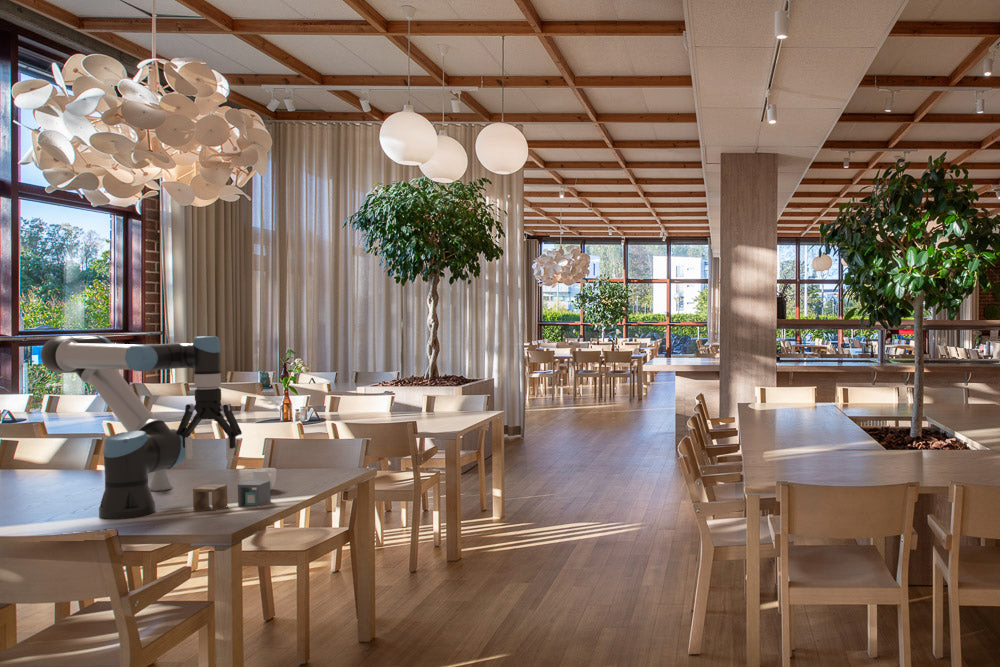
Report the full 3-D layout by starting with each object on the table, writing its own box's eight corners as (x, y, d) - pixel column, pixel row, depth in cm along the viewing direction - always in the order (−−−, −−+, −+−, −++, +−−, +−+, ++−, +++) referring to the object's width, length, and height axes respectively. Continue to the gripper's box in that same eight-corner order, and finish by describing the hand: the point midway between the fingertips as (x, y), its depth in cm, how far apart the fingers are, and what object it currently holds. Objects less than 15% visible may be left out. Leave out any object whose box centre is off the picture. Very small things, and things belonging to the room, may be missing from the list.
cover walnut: (214, 511, 256) (214, 489, 256) (193, 510, 257) (193, 488, 257) (227, 506, 263) (227, 484, 263) (206, 505, 264) (206, 484, 264)
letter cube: (257, 505, 263) (256, 492, 263) (245, 505, 264) (244, 491, 264) (263, 503, 267) (263, 489, 267) (251, 502, 268) (251, 489, 268)
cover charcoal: (259, 506, 261) (258, 485, 261) (238, 506, 263) (237, 484, 263) (270, 501, 268) (270, 480, 268) (249, 501, 270) (249, 480, 270)
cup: (271, 486, 293) (271, 466, 293) (282, 491, 285) (282, 470, 285) (248, 489, 288) (248, 469, 288) (259, 494, 280) (259, 473, 280)
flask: (164, 491, 288) (163, 461, 288) (144, 491, 289) (143, 461, 289) (176, 487, 295) (175, 458, 295) (157, 487, 296) (156, 457, 296)
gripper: (252, 387, 260) (253, 457, 261) (178, 387, 266) (179, 456, 266) (239, 389, 253) (240, 461, 253) (163, 389, 259) (164, 460, 259)
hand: (209, 459), depth 260 cm, fingers open, 13 cm apart
